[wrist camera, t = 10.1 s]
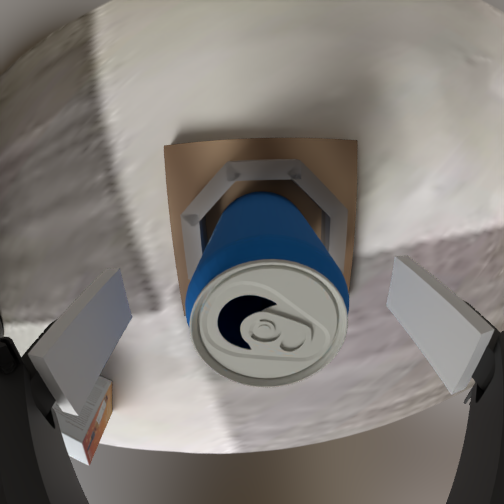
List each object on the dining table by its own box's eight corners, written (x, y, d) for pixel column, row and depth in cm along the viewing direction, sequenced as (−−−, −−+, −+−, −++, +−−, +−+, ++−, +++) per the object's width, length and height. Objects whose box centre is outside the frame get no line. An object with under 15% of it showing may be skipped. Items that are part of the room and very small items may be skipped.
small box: (113, 411, 31) (90, 467, 22) (80, 396, 31) (52, 447, 21) (113, 380, 29) (83, 444, 19) (76, 362, 28) (39, 420, 18)
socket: (187, 306, 25) (178, 332, 21) (169, 145, 20) (151, 145, 16) (341, 301, 24) (354, 325, 21) (350, 140, 20) (370, 139, 16)
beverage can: (237, 175, 19) (214, 213, 8) (319, 211, 20) (392, 290, 9) (205, 254, 21) (160, 364, 10) (282, 285, 22) (303, 406, 11)
